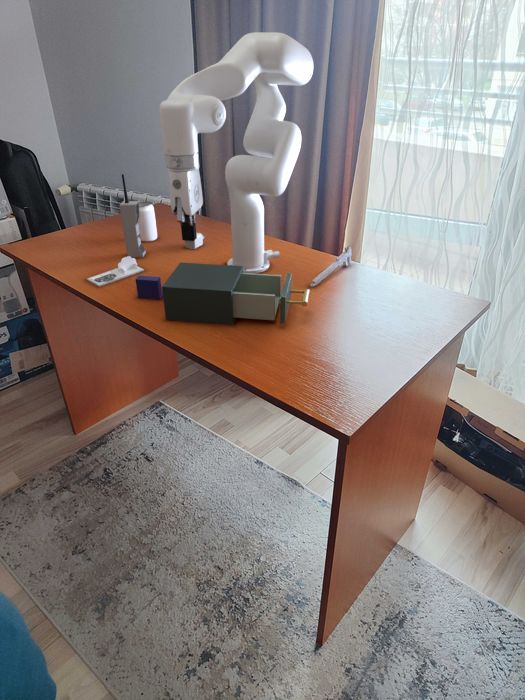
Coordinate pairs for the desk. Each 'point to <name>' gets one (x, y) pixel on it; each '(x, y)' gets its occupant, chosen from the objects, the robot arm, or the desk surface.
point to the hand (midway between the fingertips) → (189, 239)
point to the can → (147, 221)
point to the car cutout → (117, 272)
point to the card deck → (149, 287)
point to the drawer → (264, 296)
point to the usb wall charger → (195, 242)
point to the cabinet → (201, 293)
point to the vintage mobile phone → (131, 226)
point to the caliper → (334, 265)
